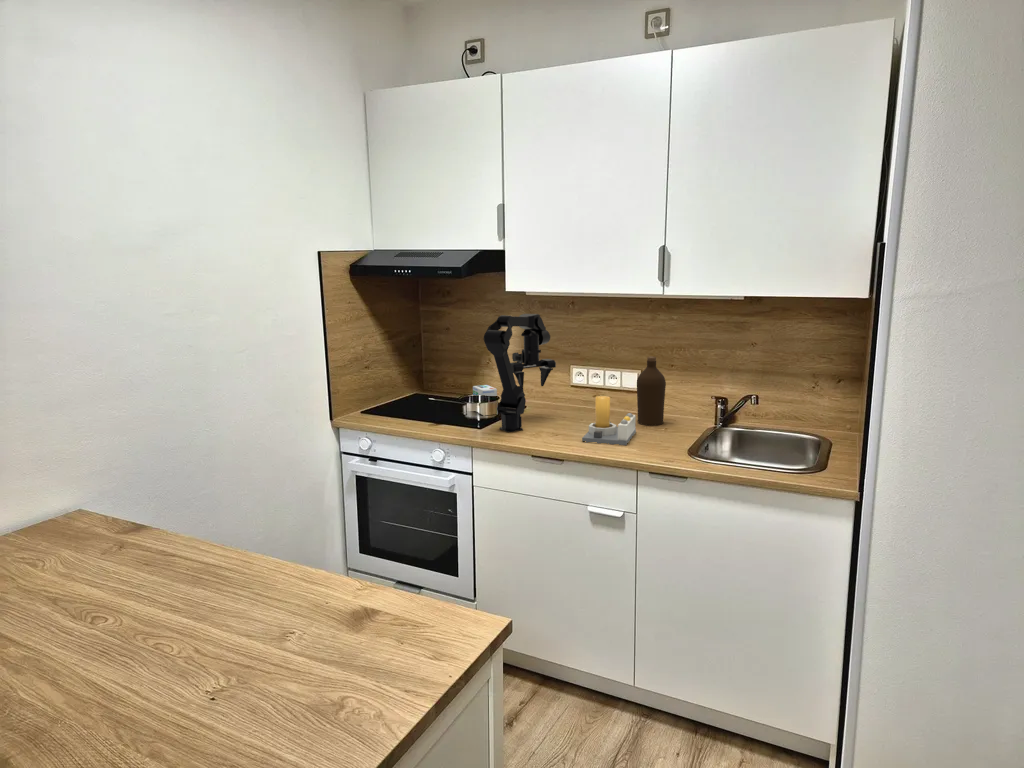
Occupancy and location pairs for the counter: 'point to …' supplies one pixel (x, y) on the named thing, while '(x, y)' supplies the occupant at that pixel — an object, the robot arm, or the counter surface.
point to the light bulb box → (484, 390)
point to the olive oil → (651, 394)
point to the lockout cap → (602, 412)
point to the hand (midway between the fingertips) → (532, 387)
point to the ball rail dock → (612, 432)
